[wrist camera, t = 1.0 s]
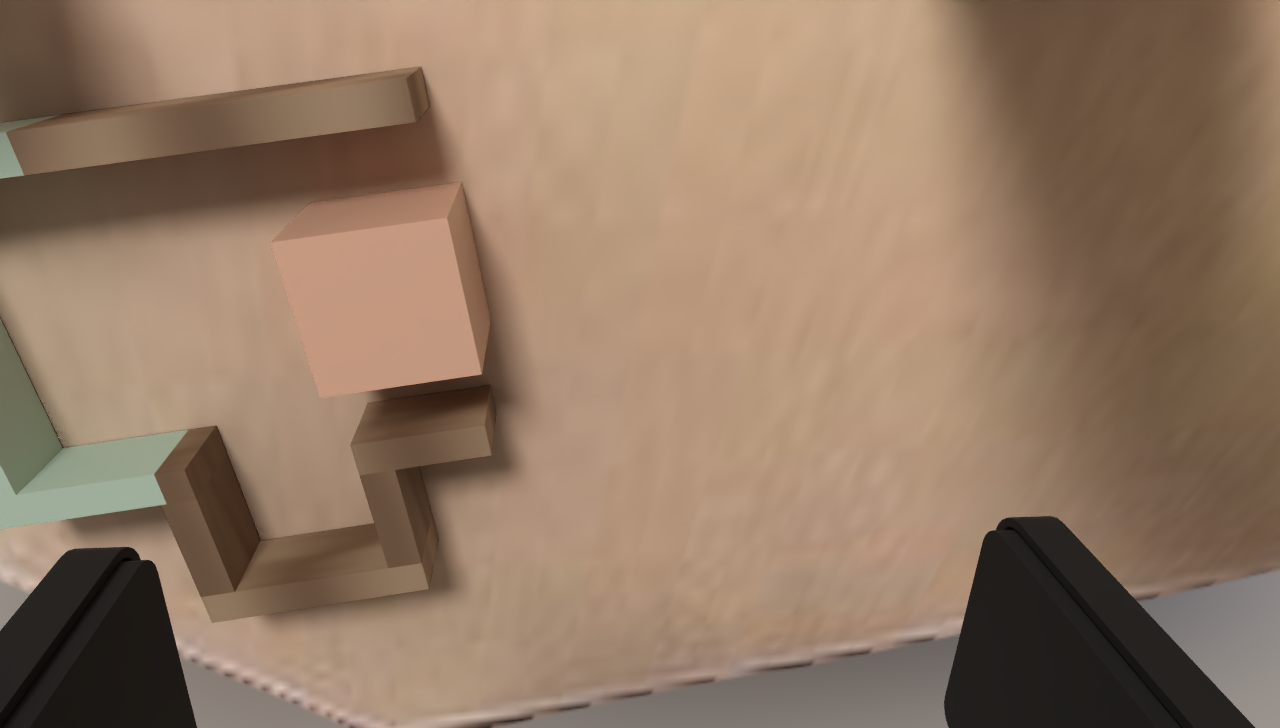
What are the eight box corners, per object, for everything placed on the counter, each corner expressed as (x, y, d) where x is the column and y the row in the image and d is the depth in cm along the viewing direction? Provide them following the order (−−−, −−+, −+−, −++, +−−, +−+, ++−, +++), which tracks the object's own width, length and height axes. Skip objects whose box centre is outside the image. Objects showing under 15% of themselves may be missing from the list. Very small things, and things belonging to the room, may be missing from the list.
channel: (420, 66, 26) (406, 78, 24) (520, 526, 34) (518, 575, 31) (55, 115, 26) (-2, 133, 23) (239, 569, 34) (212, 622, 31)
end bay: (61, 114, 26) (5, 132, 23) (199, 457, 31) (166, 504, 29) (-129, 139, 26) (-208, 160, 23) (42, 480, 31) (-5, 530, 29)
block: (461, 180, 28) (447, 217, 24) (491, 319, 30) (481, 374, 26) (310, 202, 28) (269, 242, 24) (350, 339, 30) (319, 398, 26)
